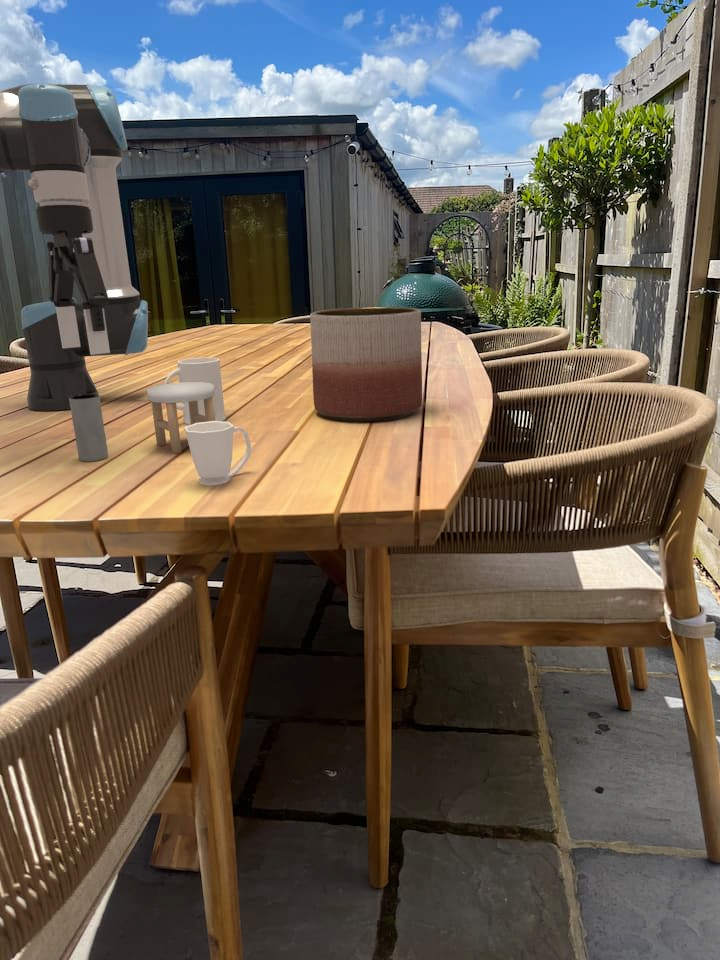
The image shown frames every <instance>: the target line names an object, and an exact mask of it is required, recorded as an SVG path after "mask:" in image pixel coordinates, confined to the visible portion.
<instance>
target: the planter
mask: <svg viewBox="0 0 720 960" xmlns="http://www.w3.org/2000/svg"><path fill="white" fill-rule="evenodd" d="M309 318H310V321H309V322H310V340H311V342H310V343H311V344H310V345H311V368H312V369H311V371H312V391H313V392H312V393H313V394H312V395H313V406H314V409H315V411H316V412H317V413H319V414H320V415H322V416H324V417H326V418H329V419H333V420H338V421H347V422H380V421H381V422H382V421H388V420H395V419H401V418H404V417H407V416H409V415H412V414H414V413H415V412H417V411H418V410H419V409H420V408H421V407H422V405H423V369H422V368H423V367H422V361H423V360H422V311H421V309H418V308H415V307H403V306H402V307H400V306H399V307H398V306H376V307H375V306H371V307H367V306H365V307H347V308H346V307H345V308H332V309H324V310H322V309H321V310H318V311H313V312H311V313H310V315H309Z"/></svg>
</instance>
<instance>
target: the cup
mask: <svg viewBox="0 0 720 960" xmlns="http://www.w3.org/2000/svg"><path fill="white" fill-rule="evenodd" d="M183 429H184V431H185V436H186V439H187V443H188V447H189V451H190V454H191V458H192V461H193V464H194V467H195V469H196V472H197V474H198V476H199V477H200V478H199V479H198V481H199V483H200V485H202V486H209V487H211V486H212V487H213V486H219V485H225V484H226V483H227V482H229V481H231V480H230V479H231V478H232V477H234V476H235V475H236V474H237V473H238V472H240V470H241V469H242V468H243V467H244V465H245V464H246V463H247V462H248V460H249V457H250V456H251V452H252V444H251V443H252V442H251V439H250V436H249V434H248V432H247V431H246V430H245V429H244V428H241V427H238V426H234V425H233V423H231V421H209V422H200V423H195V424H192V425H186V426H185V427H184V428H183ZM237 431H240V433H241V434H242V435H243V437H244V441H245V445H246V448H245V449H246V450H245V454H244V456H243V458H242V460H240V462H239V463H238V464H237V465H236V466H235V468H234V469H233V470H231V466H232V462H233V447H234V445H233V444H234V433H236V432H237Z"/></svg>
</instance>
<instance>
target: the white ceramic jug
mask: <svg viewBox="0 0 720 960" xmlns="http://www.w3.org/2000/svg"><path fill="white" fill-rule="evenodd" d="M176 365H177V368H176V369H174V370H173V371H171V372H170V373H169V374H168V375H167V376H166V378H165V380H164V383H163V384H169V383H170V381H171V379H172V378H174V377H175V376H178V380H179V382H206V383H211V384H213V385H214V392H215V395H214V396H213V402H214V412H215V421H223V422H225V421H226V420H227V415H226V411H225V404H224V394H223V384H222V383H223V382H222V380H223V379H222V372H221V371H222V370H221V361H220V358H217V357H210V356H209V357H190V358H183V359H180V360H177V364H176ZM179 382H178V383H179ZM197 401H198V410H199V414H201V415H204V416H205V409H204V399H203V400H197ZM176 408H177V411H178V410H179V411H182V423H183V424H185V425H187V426H189V425H191V422H190V413H189V404H188V402H181V404H179V403H178V404H177V403H176Z"/></svg>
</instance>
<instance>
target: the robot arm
mask: <svg viewBox="0 0 720 960" xmlns="http://www.w3.org/2000/svg"><path fill="white" fill-rule="evenodd" d="M127 149H128V143H127V138H126V133H125V129H124V125H123V121H122V118H121V113H120V110H119V107H118V103H117V99H116V96H115V94H114V92H113V91H112V90H111V89H110V88H109V87H107V86H104V85H95V84H94V85H92V84H88V83H87V84H51V83H50V84H44V83H42V84H41V83H27V84H22V85H17V86H14V87H11V88H8V89H7V88H6V89H4V90H2V91H0V172H11V171H12V172H29V174H30V179H27V185H28V186H29V187H31V188H33V189H32V192H33V198H34V201H35V202H36V203H37V204H39V206H37V207H36V209H35V212H36V219H37V225H38V229H39V230H38V231H39V232H40V233H41V234H43V235H52V236H53V241H47V242H46V247H47V253H48V278H49V279H48V280H49V282H48V284H49V288H48V289H49V290H48V291H49V297H48V298H49V301H44V302H38V303H32V304H28V305H26V306H23V307H22V308H21V311H20V316H21V317H20V318H21V325H22V326H21V330H22V332H23V337H24V343H25V349H26V353H27V358H28V363H29V368H30V378H29V384H28V390H27V396H26V401H27V407H28V409H29V410H31V411H32V410H33V411H37V412H38V411H39V412H41V411H44V412H45V411H46V412H50V411H64V410H71V408H70V402H69V397H71V396H74V395H79V394H98V395H99V391H98V389H97V387H96V384H95V383H94V381H93V379H92V377H91V375H90V372H88V369H87V364H86V359H85V358H86V357H99V356H101V357H102V356H115V355H120V356H121V355H125V356H128V355H132V354H141V353H144V352H145V350H146V349H147V347H148V335H149V334H148V333H149V331H148V328H149V311H148V304H149V303H148V302H147V301H146V300H144V299H141V296H140V295H141V294H140V292H139V291H138V290H137V289H136V288H135V287H134V286H132V281H131V271H130V266H129V259H128V252H127V251H128V250H127V245H126V235H125V228H124V221H123V214H122V207H121V201H120V193H119V191H120V190H119V185H118V179H117V166H118V165H119V164H120V162H121V161H122V160H123V159H122V158H123V157H122V151H125V150H127ZM74 284H75V285H76V286H77V289H78V291H79V294H80V296H81V299H82V303H78V302H77V300H76V298H75V297H73V295H74V294H73V293H74V292H73V291H74Z"/></svg>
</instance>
